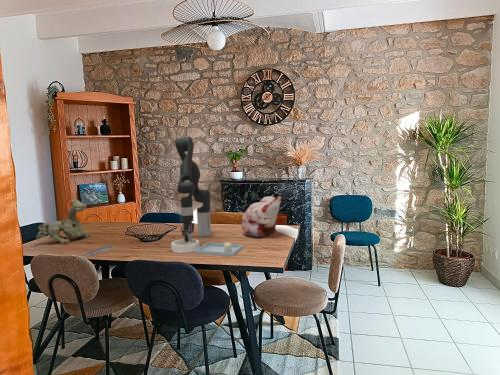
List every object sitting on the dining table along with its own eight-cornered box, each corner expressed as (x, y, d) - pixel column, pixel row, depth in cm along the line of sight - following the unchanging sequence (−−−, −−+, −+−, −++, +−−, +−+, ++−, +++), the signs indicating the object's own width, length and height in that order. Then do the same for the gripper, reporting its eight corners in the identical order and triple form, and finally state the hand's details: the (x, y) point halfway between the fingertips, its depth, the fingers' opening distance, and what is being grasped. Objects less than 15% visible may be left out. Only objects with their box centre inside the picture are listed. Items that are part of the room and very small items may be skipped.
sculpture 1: (74, 246, 242) (60, 203, 238) (41, 254, 248) (26, 211, 244) (100, 233, 270) (88, 194, 266) (70, 240, 276) (57, 202, 272)
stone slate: (186, 240, 232) (186, 232, 231) (193, 240, 231) (192, 232, 230) (183, 241, 228) (183, 233, 227) (189, 242, 226) (189, 234, 226)
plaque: (82, 262, 210) (82, 261, 210) (69, 261, 213) (69, 260, 213) (118, 246, 241) (118, 246, 241) (106, 246, 244) (106, 245, 244)
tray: (207, 246, 235) (207, 242, 235) (243, 248, 228) (242, 244, 227) (195, 254, 218) (194, 250, 218) (232, 257, 211) (232, 252, 210)
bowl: (180, 246, 238) (180, 238, 237) (202, 247, 233) (202, 239, 232) (167, 253, 223) (167, 244, 222) (191, 254, 218) (190, 246, 217)
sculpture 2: (233, 236, 259) (233, 194, 255) (252, 227, 284) (252, 189, 280) (273, 242, 244) (275, 198, 240) (289, 233, 270) (291, 193, 266)
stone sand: (225, 249, 224) (225, 241, 223) (232, 250, 222) (232, 242, 222) (223, 251, 220) (222, 243, 219) (230, 252, 218) (229, 244, 218)
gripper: (187, 211, 235) (188, 237, 237) (176, 215, 222) (177, 243, 224) (197, 212, 233) (198, 238, 235) (187, 216, 219) (188, 244, 221)
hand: (188, 240), depth 229 cm, fingers closed on stone slate, 4 cm apart
